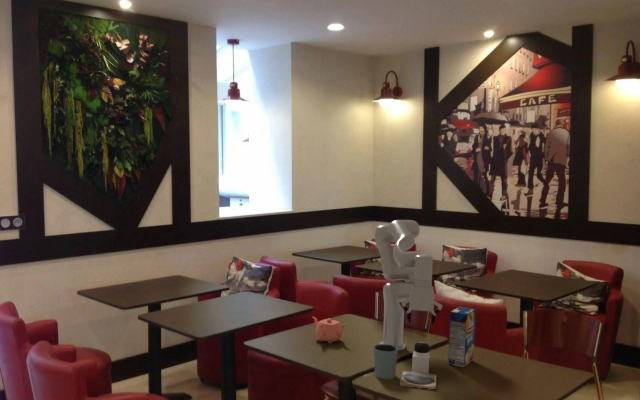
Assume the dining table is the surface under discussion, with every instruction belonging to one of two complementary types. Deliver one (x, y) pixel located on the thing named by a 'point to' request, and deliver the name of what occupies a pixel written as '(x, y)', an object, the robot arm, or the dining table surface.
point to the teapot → (328, 330)
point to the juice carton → (461, 336)
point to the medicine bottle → (421, 358)
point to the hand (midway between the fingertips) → (420, 322)
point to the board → (418, 380)
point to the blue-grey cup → (385, 361)
